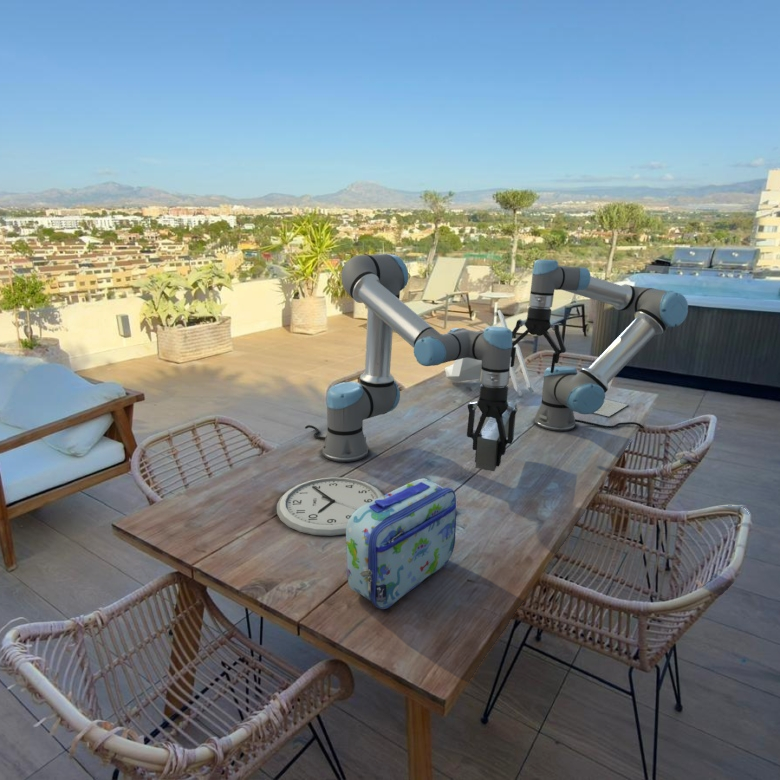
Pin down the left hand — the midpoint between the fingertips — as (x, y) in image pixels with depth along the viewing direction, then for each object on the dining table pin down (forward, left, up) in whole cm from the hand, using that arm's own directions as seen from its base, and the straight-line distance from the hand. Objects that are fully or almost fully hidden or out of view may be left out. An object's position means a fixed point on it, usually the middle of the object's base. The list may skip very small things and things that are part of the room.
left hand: (487, 462), depth 149 cm
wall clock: (-33, -30, -9) cm, 45 cm away
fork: (-3, -21, -9) cm, 23 cm away
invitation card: (+15, +99, -9) cm, 101 cm away
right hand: (-2, +43, +18) cm, 47 cm away
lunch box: (-1, -48, -9) cm, 49 cm away
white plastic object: (-37, +95, -9) cm, 102 cm away
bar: (-2, +13, 0) cm, 13 cm away
